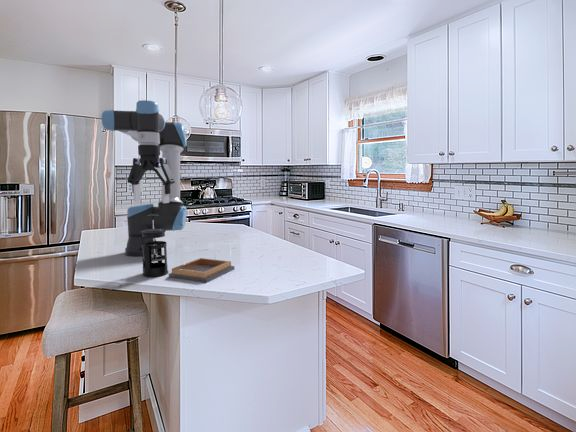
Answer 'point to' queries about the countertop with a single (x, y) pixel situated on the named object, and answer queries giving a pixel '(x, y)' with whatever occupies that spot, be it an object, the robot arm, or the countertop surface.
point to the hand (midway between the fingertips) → (151, 202)
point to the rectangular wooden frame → (201, 270)
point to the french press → (148, 258)
